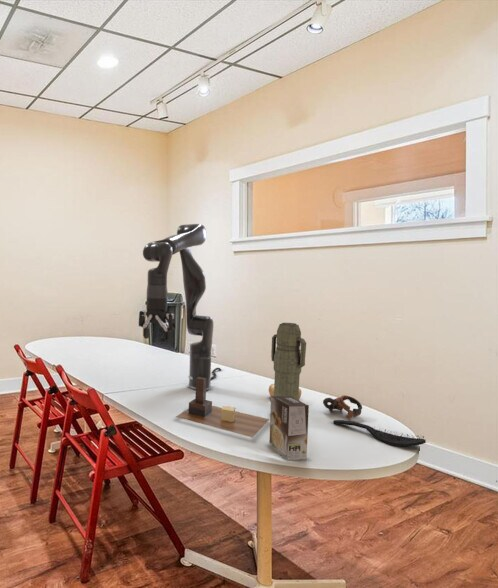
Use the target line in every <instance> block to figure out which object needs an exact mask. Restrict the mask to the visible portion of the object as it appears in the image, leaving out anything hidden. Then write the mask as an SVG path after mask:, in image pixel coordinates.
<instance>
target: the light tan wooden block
mask: <svg viewBox="0 0 498 588" xmlns="http://www.w3.org/2000/svg"><path fill="white" fill-rule="evenodd" d="M221 408H222V409H221V420H224V421H229V422H233V421H234V419H235V411H236V407H232V406H228V405H222V407H221Z"/></svg>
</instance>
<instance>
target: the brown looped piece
mask: <svg viewBox="0 0 498 588" xmlns="http://www.w3.org/2000/svg"><path fill="white" fill-rule="evenodd" d="M347 400H348V401H349V403H351V404H354V405H356V406H357V408H353V409H352V410H351V406H350V405H348V404H347V403H345V401H347ZM329 403H330V404H329ZM322 404H323V406H324V407H325V408H326V409H328V411H329V412H330V413H333V411H334V410H337V411H341V412H342V411H343V410H344V411H345V412H347V414H346V415H345V419H348V420H351V419H353V418H356V417H358V416H360V415H361V413H362V409H363V405H362V404H361V402H360V401H359V400H357V399H356V398H354V397H352V396H349V395H345V394H344V395H341V396H338V397H335V398H331V397H326V398H323V400H322Z"/></svg>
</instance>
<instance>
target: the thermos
mask: <svg viewBox="0 0 498 588" xmlns="http://www.w3.org/2000/svg"><path fill="white" fill-rule="evenodd" d="M306 351H307V342H306V340H305V338H302V331H301V328H300V325H299V324H297V323H294V322H281V323H279V324H278V327H277V330H276V334H273V336H271V352H270V353H271V355H270V357H271V362H273V371H274V383H273V384H274V395H273V396H291V397H293V398H295V399H297V400H299V401H301V400H300V399H299V389H300V375H301V373H302V368H304V366H306V354H307V353H306Z"/></svg>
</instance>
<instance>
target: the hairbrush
mask: <svg viewBox="0 0 498 588" xmlns="http://www.w3.org/2000/svg"><path fill="white" fill-rule="evenodd" d="M333 424H335V425H343V426H351V427H352V426H353V427H358V428H360V429H364V430H366V431H367V432H368V433H369V434H370V435H371V436H373V437H374V438H375V439H376V440H378V441H380V442H382V443H384V444H388V445H390V446H396V447H415V446H419V445H424V444H426V443H427V440H426V439H424V438H425V436H424V435H422V434H420V436H419V435H416V434H415V435H414V436H413V434H412V435H411V434H410V435H409V434H408V433H406V434H404V433H398V431H392V432H389V430H387V429H384V431H383V428H382V429H381V428H380V429H376V428H375V427H372V426H370V425H368V424H364V423H361V422H358V421H354V420H350V419H348V420H346V419H334V420H333ZM393 433H394V434H393Z"/></svg>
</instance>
